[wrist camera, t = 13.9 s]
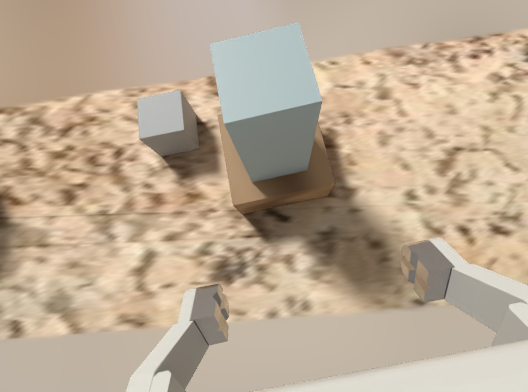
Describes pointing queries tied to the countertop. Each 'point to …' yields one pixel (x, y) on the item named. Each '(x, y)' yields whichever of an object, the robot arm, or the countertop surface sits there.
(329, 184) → the plinth
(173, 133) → the block
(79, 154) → the countertop surface
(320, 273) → the countertop surface
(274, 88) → the pillar
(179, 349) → the robot arm
